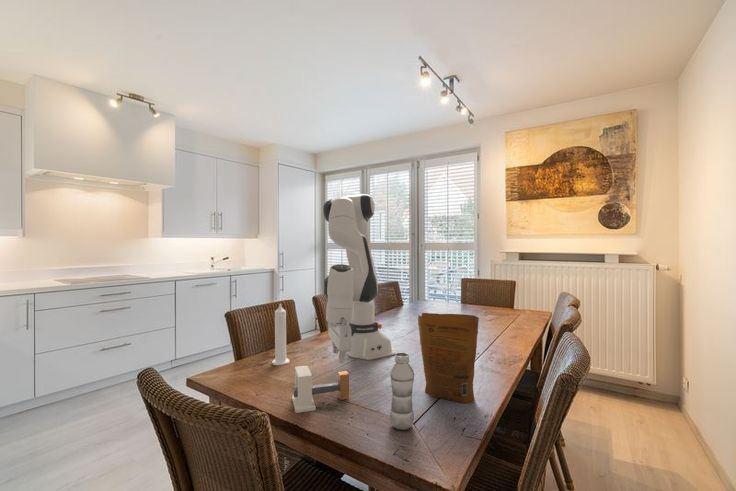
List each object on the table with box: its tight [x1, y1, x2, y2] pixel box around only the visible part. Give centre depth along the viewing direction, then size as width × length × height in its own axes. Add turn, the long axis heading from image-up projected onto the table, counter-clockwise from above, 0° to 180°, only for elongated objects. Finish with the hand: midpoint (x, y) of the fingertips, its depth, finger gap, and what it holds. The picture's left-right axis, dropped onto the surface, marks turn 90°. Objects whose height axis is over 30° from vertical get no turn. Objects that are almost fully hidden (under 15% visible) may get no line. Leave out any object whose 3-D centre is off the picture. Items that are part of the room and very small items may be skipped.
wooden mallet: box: [292, 370, 350, 401], centre depth 111 cm, size 18×3×8 cm, turn 108°
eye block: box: [291, 364, 317, 414], centre depth 109 cm, size 6×10×10 cm, turn 18°
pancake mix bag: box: [417, 312, 480, 404], centre depth 113 cm, size 7×19×28 cm, turn 63°
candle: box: [271, 303, 290, 366], centre depth 145 cm, size 7×7×25 cm
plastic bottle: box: [389, 352, 415, 431], centre depth 95 cm, size 6×7×20 cm
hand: (338, 357), depth 113 cm, fingers open, 8 cm apart
